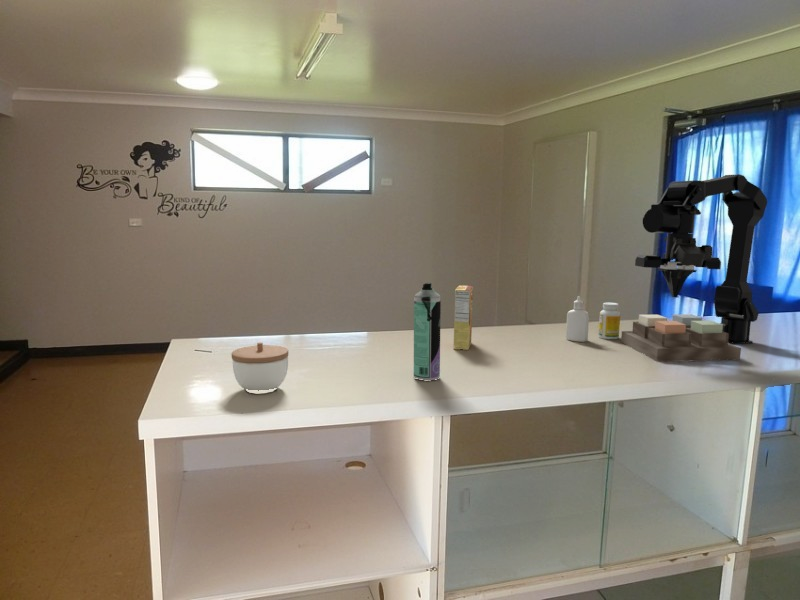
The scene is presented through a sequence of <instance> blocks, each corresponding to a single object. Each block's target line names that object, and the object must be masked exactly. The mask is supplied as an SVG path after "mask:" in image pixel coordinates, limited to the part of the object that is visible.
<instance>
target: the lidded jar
mask: <svg viewBox="0 0 800 600" xmlns="http://www.w3.org/2000/svg"><path fill="white" fill-rule="evenodd" d="M231 360H232V370H233V371H232V372H233V374H234V377H235V378H234V379H235V380H236V382H237V384H238V385H239V386H240V387H241V388H242V389H243V388H244V390H245V389H248V390H258V391H259V390H269V389H274V388H277V387H278V388H279V387H280V386H281V385H282V384H283V383H284V381H285V379H286V377H287V374H288V369H289V368H288V367H289V350H288V348H286V347H284V346H281V345H271V344H269V345H268V344H263V342H260V341H259V342H257V343H256V345H250V346H243V347H239V348H237V349H235V350H233V351H232V352H231ZM278 388H277V389H278Z"/></svg>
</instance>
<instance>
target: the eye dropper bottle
mask: <svg viewBox="0 0 800 600" xmlns="http://www.w3.org/2000/svg"><path fill="white" fill-rule="evenodd" d="M589 322H590V315H589V312H588V311H586V310H584V301H583V300H582V299H581V296H579V295H577V298H576V300H574V301H573V309H571V310H569V311H567V314H566V328H565V339H566V340H568V341H572V342H577V343H579V342H580V343H583V342H587V341H588V340H589Z"/></svg>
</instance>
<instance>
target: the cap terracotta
mask: <svg viewBox="0 0 800 600" xmlns="http://www.w3.org/2000/svg"><path fill="white" fill-rule="evenodd" d="M655 330H657V331H659V332H661V333H664V334H671V333H685V330H686V325H685V324H682V323H680V322H677V321H672V320H667V321H655Z"/></svg>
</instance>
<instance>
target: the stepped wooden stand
mask: <svg viewBox="0 0 800 600" xmlns="http://www.w3.org/2000/svg"><path fill="white" fill-rule="evenodd" d="M728 336H729V334H728V333H726V332H723V331H722V333H699V332H696V331H694V330H691V326H686V330H685V333H671V334H664V333H661V332H659V331H657V330H655V326H645V325H642V324H640V323H639V320H638V321H637V320H635V321H632V330H628V331H627V330H622V331H621V338H620V342H621V344H624V345H625V344H626V346H627V345H628V347H629V346H630V347H629V348H631V347H632V348H631V349H633V348H634V349H633V350H635V351H637V352H639V353H640V352H641V354H642V353H643V355H644V354H645V355H644V356H646V357H648V358H650V359H652V360H654V361H655V362H683V361H684V362H687V361H688V362H689V361H690V362H691V361H692V362H694V361H696V362H697V361H698V362H699V361H702V362H703V361H705V362H706V361H710V362H711V361H712V362H714V361H717V362H718V361H741V351H742V347H740V346H737V345H735V344H733V343H728Z"/></svg>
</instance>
